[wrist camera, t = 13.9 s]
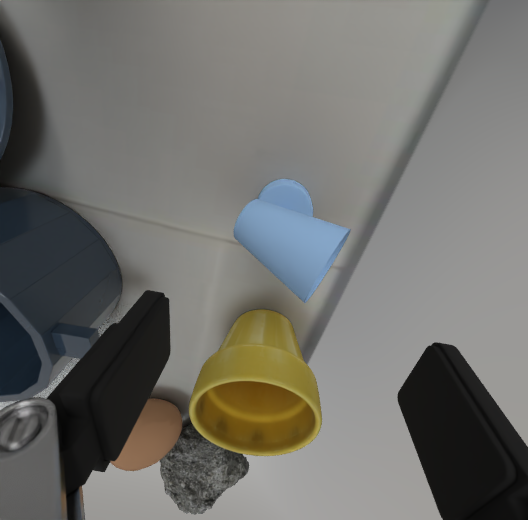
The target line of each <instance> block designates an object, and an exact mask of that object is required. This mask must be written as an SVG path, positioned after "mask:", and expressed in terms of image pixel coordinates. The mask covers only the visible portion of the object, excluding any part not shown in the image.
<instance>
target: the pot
mask: <svg viewBox="0 0 528 520" xmlns="http://www.w3.org/2000/svg"><path fill="white" fill-rule="evenodd" d="M121 290H122V280H121V274H120V269H119V267H118V264H117V261H116V259H115V257H114V255H113V253H112V251H111V250H110V248H109V246H108V245H107V243H106V242H105V241H104V239H103V238H102V237H101V236H100V234H99V233H98V232H97V231H96V230H95V229H94V228H93V227H92V226H91V225H90V224H89V223H88V222H87V221H86V220H84V219H83V218H82V217H81V216H80V215H78V214H77V213H76V212H74V211H73V210H71V209H70V208H69V207H67V206H65V205H63V204H62V203H60V202H58V201H56V200H54V199H52V198H50V197H48V196H46V195H43V194H40V193H37V192H34V191H30V190H26V189H22V188H13V187H0V402H6V401H17V400H24V399H28V398H31V397H33V396H34V395H36V394H38V393H39V392H41V391H42V390H44V389H46V388H47V387H48V386H49V385H50V384H51V383H52V382H53V380H54V379H55V378H56V377H57V376H58V375H59V373H60V372H61V371H62V370H63V369H64V368H65V367H66V365H67V364H68V363H69V362H70V361H71V360H72V359H73V358H78V359H81V358H82V357H83V356H84V355H85V354H86V353H87V352H88V350H89V349H90V348H91V347H92V346H93V345H94V343H95V342H96V341H97V340H98V339H99V333H98V329H99V327H100V326H101V325H102V324H103V323H104V322H105V321H106V319H107V318H108V317H109V316H110V315H111V314H112V313H113V311H114V308H115V307H116V305H117V303H118V301H119V299H120V295H121Z"/></svg>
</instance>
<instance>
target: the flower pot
mask: <svg viewBox="0 0 528 520" xmlns="http://www.w3.org/2000/svg"><path fill="white" fill-rule="evenodd" d="M189 416H190V420H191V422H192V424H193V426H194V427H195V429H196V430H197V431H198V432H199V433H200V434H201V435H202V436H203V437H204V438H206V439H207V440H209V441H210V442H212V443H214V444H215V445H217V446H220V447H222V448H224V449H227V450H230V451H233V452H237V453H241V454H246V455H254V456H275V455H282V454H287V453H290V452H293V451H296V450H298V449H301V448H303V447H305V446H306V445H308V444H309V443H310V442H312V441H313V440H314V439H315V438H316V436H317V435H318V433H319V431H320V428H321V424H322V415H321V406H320V399H319V392H318V388H317V382H316V379H315V376H314V374H313V372H312V371H311V369H310V368H309V366H308V365H307V364H306V363H305V362H304V360H303V357H302V354H301V351H300V348H299V345H298V342H297V339H296V336H295V333H294V330H293V327H292V325H291V323H290V321H289V320H288V319H287V318H286V317H284V316H283V315H281V314H280V313H277V312H275V311H271V310H266V309H257V310H252V311H248V312H246V313H244V314H242V315H241V316H240V317H239V318H238V319H237V320H236V321H235V323H234V324H233V326H232V328H231V329H230V331H229V333H228V335H227V336H226V338H225V340H224V342H223V343H222V345H221V347H220V348H219V350H218V352H216V353H215V354H213V355H212V356H211V357H210V358H209V359H208V360H207V361H206V362H205V364H204V365H203V367H202V369H201V371H200V374H199V376H198V379H197V381H196V384H195V387H194V390H193V393H192V396H191V399H190V403H189Z"/></svg>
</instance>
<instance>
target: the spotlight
mask: <svg viewBox="0 0 528 520" xmlns="http://www.w3.org/2000/svg"><path fill="white" fill-rule="evenodd" d="M350 230H351V229H348V228H345V227H342V226H339V225H336V224H333V223H329V222H326V221H323V220H320V219H317V218H314V217H313V206H312V202H311V198H310V195H309V193H308V191H307V190H306V189H305V187H304V186H302V185H301V184H300V183H298V182H296V181H294V180H290V179H279V180H275V181H273V182H271V183H269V184H268V185H266V186H265V187H264V188H263V190H262V191H261V192H260V194H259V197H258V199H254V200H252V201H251V202H249V203H248V204H247V205H246V206H245V208H244V209H243V210H242V212H241V213H240V215H239V217H238V219H237V221H236V224H235V227H234V237H235V239H236V240H238V241H239V242H240V243H241V244H242V245H243V246H244V247H245V248H246V249H247V250H248V251H249V252H250V253H251V254H253V255H254V256H255V257H256V258H257V259H258V260H259V261H260V262H261V263H262V264H263V265H264V266H265V267H267V268H268V269H269V270H270V271H271V272H272V273H273V274H274V275H275V276H276V277H277V278H278V279H279V280H280V281H282V282H283V283H284V284H285V285H286V286H287V287H288V288H289V289H290V290H291V291H292V292H293V293H294V294H296V295H297V296H298V297H299V298H300V299H301V300H302V301H303V302H304V303H306V302H307V301H308V299H309V298H310V297H311V295H312V294H313V293H314V291H315V290H316V288H317V287H318V285H319V284H320V282H321V281H322V279H323V278H324V276H325V275H326V273H327V271H328V270H329V268H330V267H331V265H332V263H333V262H334V260H335V258H336V257H337V255H338V253H339V252H340V250H341V248H342V246H343V245H344V243H345V241H346V239H347V237H348V235H349V233H350Z"/></svg>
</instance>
